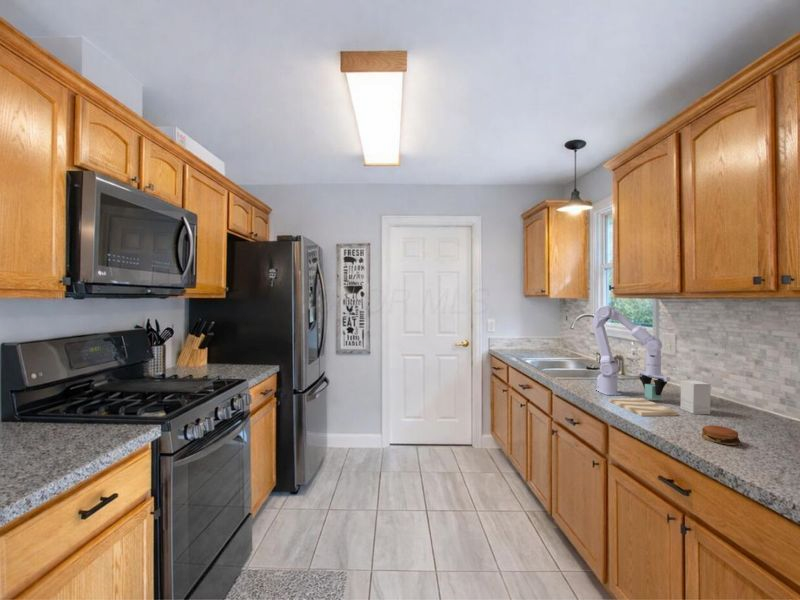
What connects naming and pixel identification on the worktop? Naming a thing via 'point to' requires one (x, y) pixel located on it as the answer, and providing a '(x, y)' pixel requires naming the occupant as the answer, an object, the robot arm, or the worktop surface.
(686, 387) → the supplement box
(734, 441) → the burger
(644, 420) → the worktop surface
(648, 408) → the birch board
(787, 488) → the worktop surface
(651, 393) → the teal block
